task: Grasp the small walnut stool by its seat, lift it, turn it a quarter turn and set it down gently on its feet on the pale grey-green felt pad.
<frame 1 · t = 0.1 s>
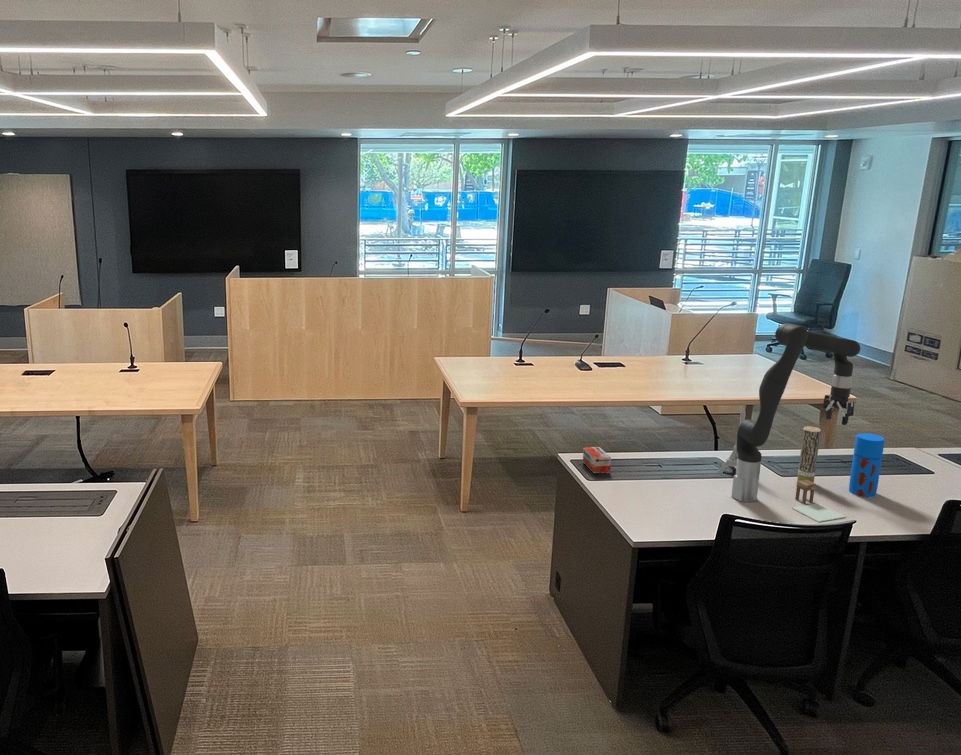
hand: (836, 421, 325), 29 cm above the table, fingers open, 8 cm apart
pad: (818, 513, 303), on the table
medicine box: (595, 468, 348), on the table
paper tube: (805, 483, 335), on the table
eiffel tower: (736, 472, 347), on the table
thermos: (862, 493, 325), on the table
stool: (804, 500, 315), on the table
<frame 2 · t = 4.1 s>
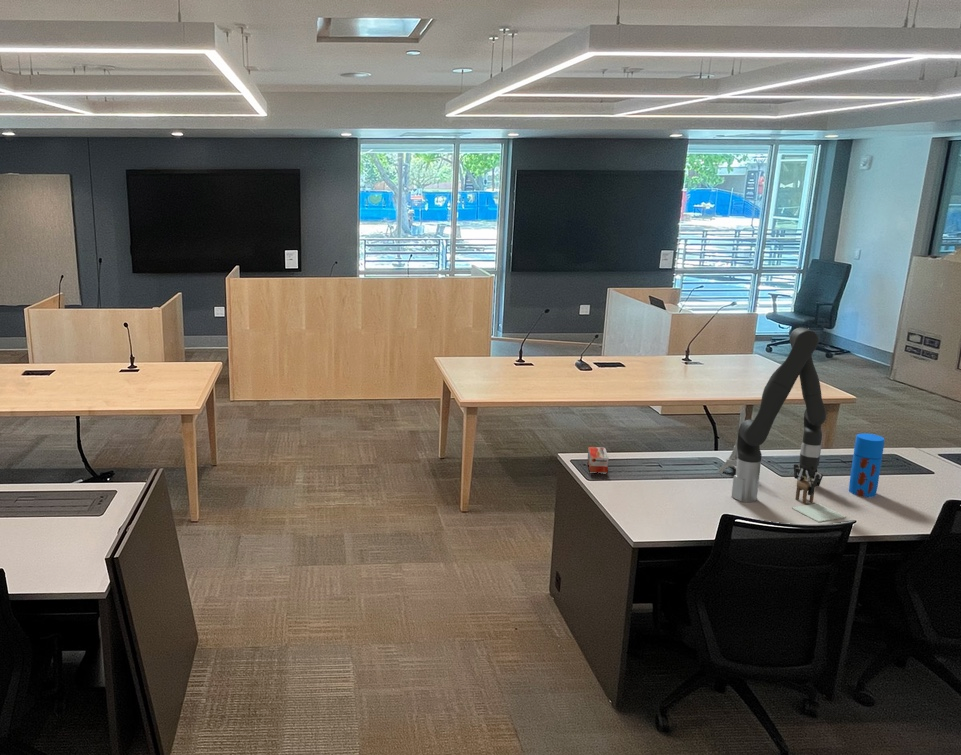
hand: (805, 492, 314), 4 cm above the table, fingers closed on stool, 5 cm apart
stool: (804, 500, 315), on the table, touching gripper
when the fingers open (5 cm above the table, at t = 9.5 s): stool stays where it is, resting on pad.
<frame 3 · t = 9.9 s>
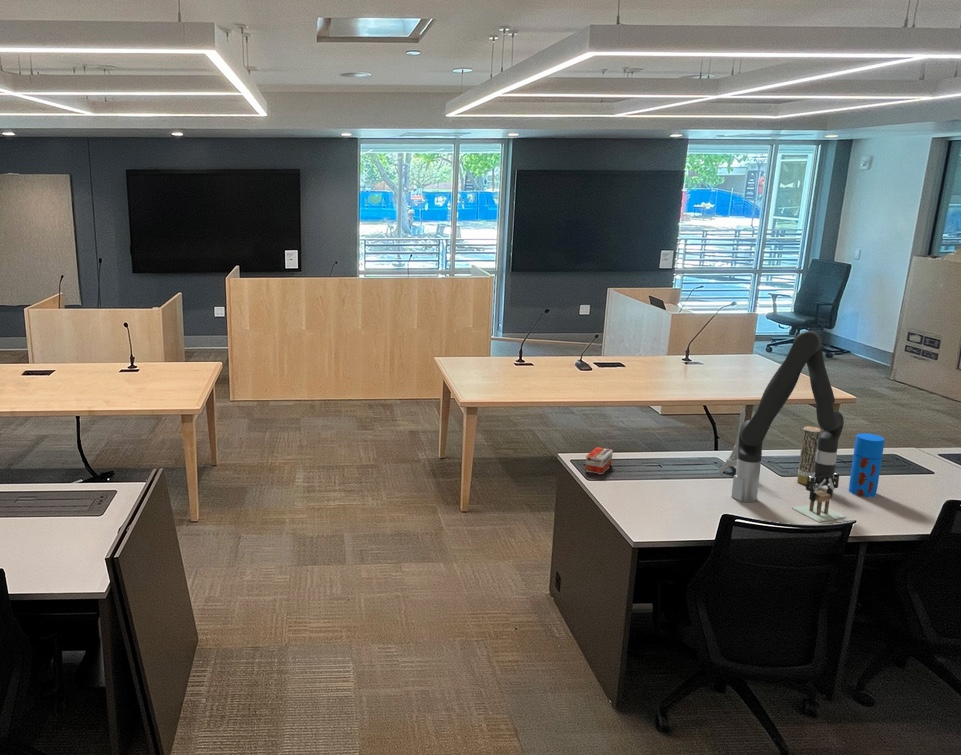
hand: (820, 499, 301), 6 cm above the table, fingers open, 8 cm apart
stool: (818, 512, 303), resting on pad
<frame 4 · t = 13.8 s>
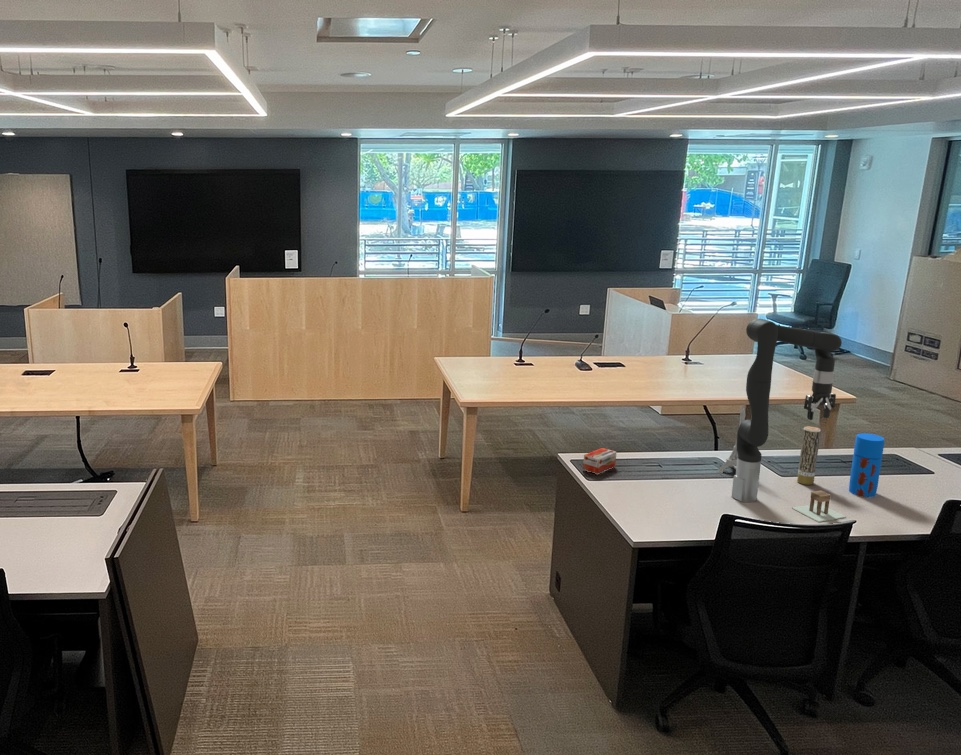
hand: (817, 418, 316), 33 cm above the table, fingers open, 8 cm apart
at the end: stool inside the target area on the pad (0.2 cm from its centre), point 0.4 cm above the pad's base; stool tilted 0°; the gripper is holding nothing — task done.
